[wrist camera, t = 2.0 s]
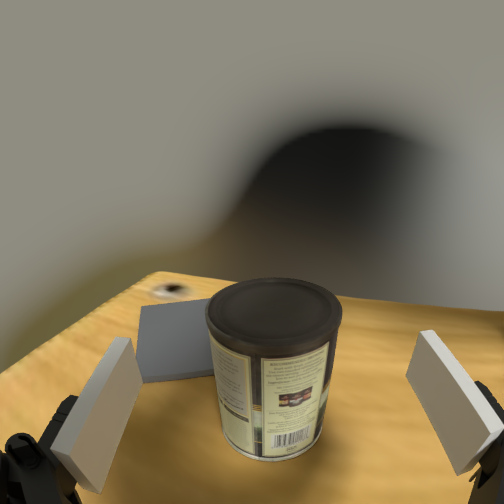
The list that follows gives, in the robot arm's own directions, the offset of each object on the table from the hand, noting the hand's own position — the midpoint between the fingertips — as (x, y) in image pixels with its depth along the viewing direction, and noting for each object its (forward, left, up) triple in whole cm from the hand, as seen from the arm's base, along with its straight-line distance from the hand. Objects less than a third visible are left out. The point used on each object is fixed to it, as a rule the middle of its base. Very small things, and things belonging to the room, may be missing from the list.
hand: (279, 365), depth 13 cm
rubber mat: (+2, -28, -17) cm, 32 cm away
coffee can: (-3, -10, -17) cm, 19 cm away
